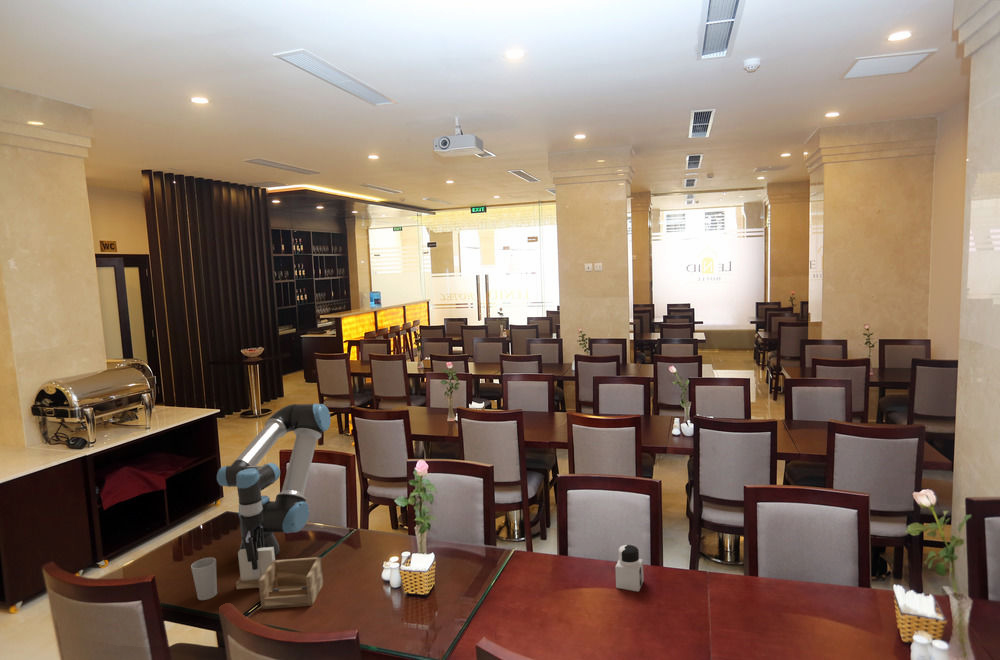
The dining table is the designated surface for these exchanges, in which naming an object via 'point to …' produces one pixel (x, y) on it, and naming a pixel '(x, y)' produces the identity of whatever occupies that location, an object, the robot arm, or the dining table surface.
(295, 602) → the wooden box
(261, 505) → the robot arm
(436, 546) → the dining table surface
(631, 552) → the container
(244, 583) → the small wooden tray
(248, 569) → the white square slab
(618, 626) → the dining table surface
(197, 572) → the cup
